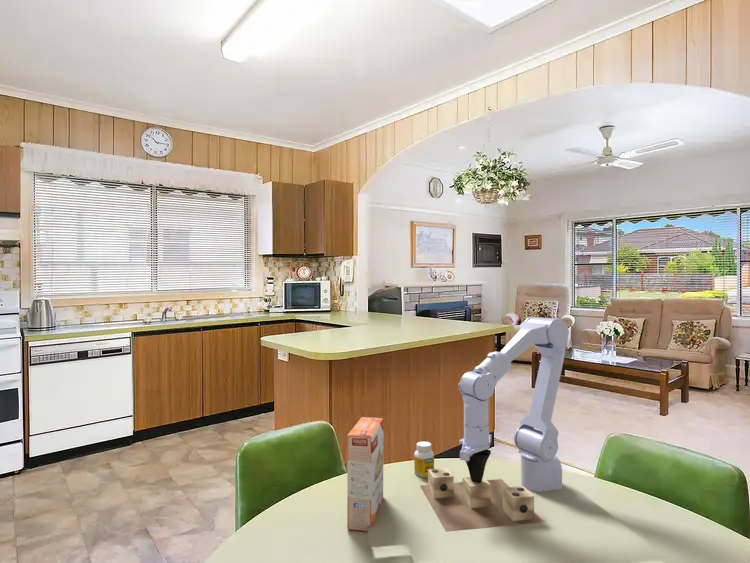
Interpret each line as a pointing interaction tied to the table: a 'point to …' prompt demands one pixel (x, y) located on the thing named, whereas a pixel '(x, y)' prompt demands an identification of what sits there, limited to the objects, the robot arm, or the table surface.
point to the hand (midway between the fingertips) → (476, 481)
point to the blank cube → (476, 493)
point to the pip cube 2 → (518, 503)
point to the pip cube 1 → (440, 483)
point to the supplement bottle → (423, 459)
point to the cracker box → (364, 473)
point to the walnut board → (473, 509)
